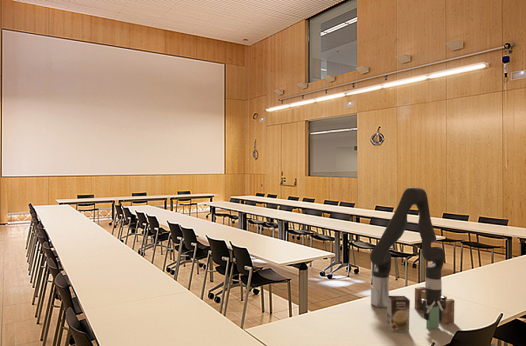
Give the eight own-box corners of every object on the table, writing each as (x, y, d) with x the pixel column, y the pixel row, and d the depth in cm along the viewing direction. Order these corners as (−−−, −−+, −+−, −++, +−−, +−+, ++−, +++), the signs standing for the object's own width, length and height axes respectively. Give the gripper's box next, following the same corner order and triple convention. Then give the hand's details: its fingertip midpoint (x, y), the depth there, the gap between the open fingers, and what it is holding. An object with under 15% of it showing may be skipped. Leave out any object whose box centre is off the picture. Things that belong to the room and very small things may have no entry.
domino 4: (445, 324, 190) (445, 301, 190) (442, 322, 192) (442, 300, 192) (454, 322, 192) (454, 300, 192) (451, 321, 194) (451, 298, 194)
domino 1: (417, 309, 209) (417, 288, 209) (414, 308, 211) (414, 287, 211) (425, 308, 211) (425, 287, 211) (423, 307, 213) (423, 286, 213)
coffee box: (391, 332, 181) (391, 300, 180) (386, 326, 187) (386, 295, 187) (409, 332, 181) (410, 299, 181) (404, 326, 188) (404, 295, 187)
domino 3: (429, 329, 184) (429, 305, 184) (426, 327, 186) (426, 304, 186) (438, 327, 186) (439, 304, 186) (435, 326, 188) (436, 302, 188)
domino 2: (423, 313, 204) (423, 291, 204) (421, 312, 206) (421, 290, 206) (432, 312, 206) (432, 290, 206) (429, 310, 208) (429, 289, 208)
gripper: (438, 282, 192) (438, 313, 192) (416, 285, 187) (416, 317, 187) (450, 287, 185) (450, 319, 185) (427, 290, 180) (427, 323, 180)
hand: (433, 318), depth 186 cm, fingers open, 8 cm apart
